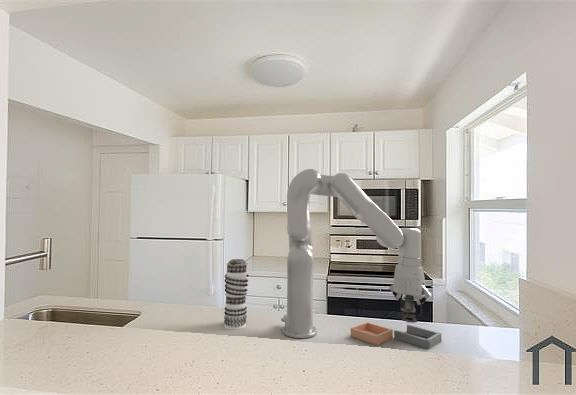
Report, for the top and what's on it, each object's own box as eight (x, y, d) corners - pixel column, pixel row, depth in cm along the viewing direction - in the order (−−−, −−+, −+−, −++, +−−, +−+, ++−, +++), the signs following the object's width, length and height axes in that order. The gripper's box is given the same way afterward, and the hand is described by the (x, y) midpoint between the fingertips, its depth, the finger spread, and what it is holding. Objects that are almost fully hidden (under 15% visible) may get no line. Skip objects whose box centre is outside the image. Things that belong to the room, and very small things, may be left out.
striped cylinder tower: (229, 320, 125) (231, 257, 127) (250, 323, 122) (252, 259, 124) (218, 328, 116) (220, 260, 118) (241, 331, 113) (243, 261, 115)
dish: (350, 336, 110) (350, 328, 110) (367, 330, 117) (367, 321, 117) (376, 345, 102) (376, 336, 102) (392, 338, 109) (392, 329, 109)
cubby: (394, 338, 109) (394, 330, 109) (408, 331, 116) (408, 324, 117) (428, 348, 100) (428, 340, 101) (441, 340, 108) (441, 333, 108)
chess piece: (419, 323, 107) (420, 288, 108) (402, 322, 108) (402, 287, 109) (416, 318, 113) (416, 285, 114) (399, 316, 114) (399, 283, 115)
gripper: (382, 260, 116) (382, 309, 115) (429, 266, 103) (429, 321, 102) (392, 258, 121) (392, 306, 120) (438, 264, 108) (438, 317, 107)
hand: (409, 312), depth 111 cm, fingers closed on chess piece, 5 cm apart
